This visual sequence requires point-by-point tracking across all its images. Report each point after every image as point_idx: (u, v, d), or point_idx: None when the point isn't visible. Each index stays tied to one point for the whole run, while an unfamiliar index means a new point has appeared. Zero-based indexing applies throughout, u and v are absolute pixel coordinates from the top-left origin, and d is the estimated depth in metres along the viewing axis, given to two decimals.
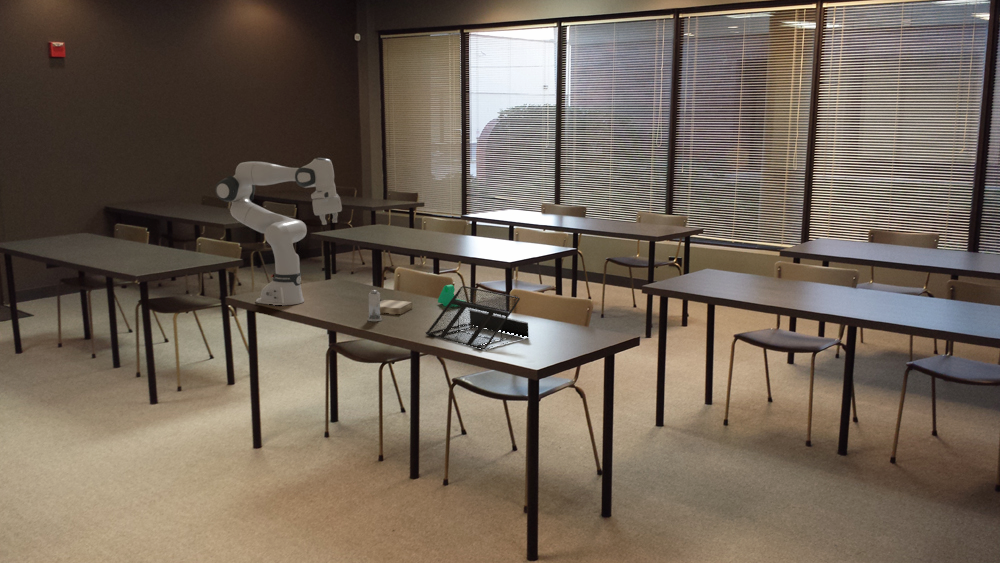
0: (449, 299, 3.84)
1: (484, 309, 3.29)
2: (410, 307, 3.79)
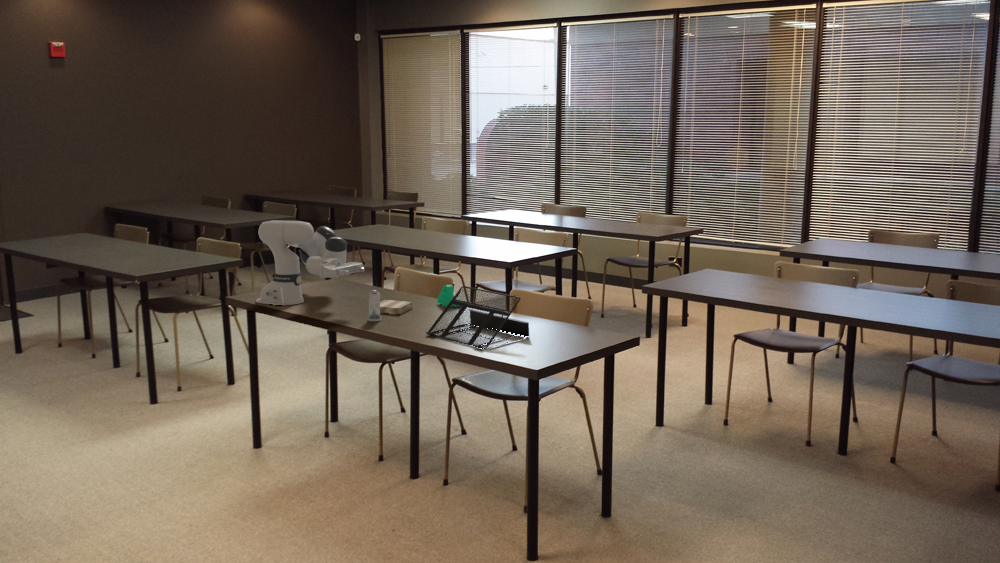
0: (448, 299, 3.84)
1: (485, 309, 3.29)
2: (410, 307, 3.79)
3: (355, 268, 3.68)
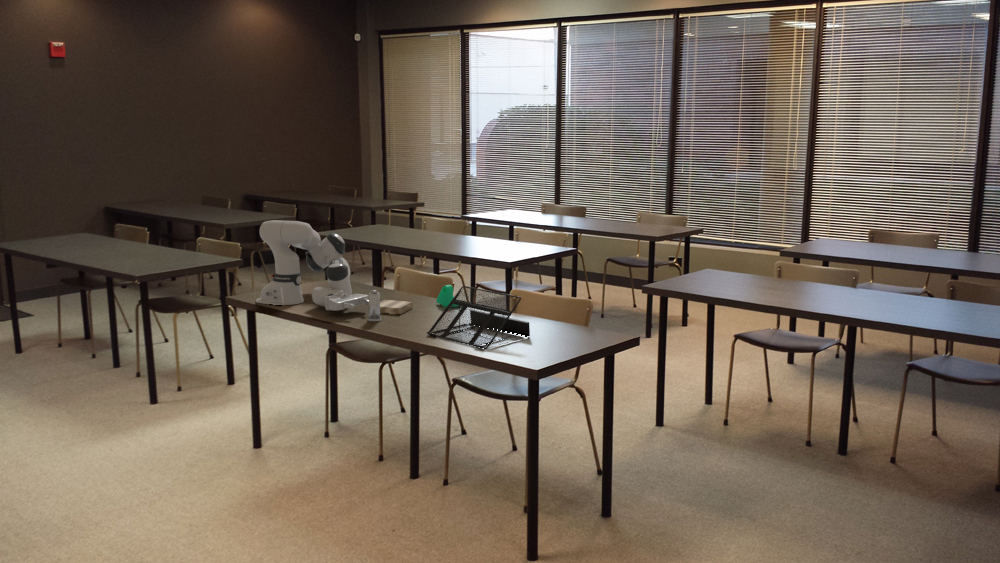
0: (448, 299, 3.84)
1: (485, 309, 3.29)
2: (410, 307, 3.79)
3: (360, 300, 3.69)
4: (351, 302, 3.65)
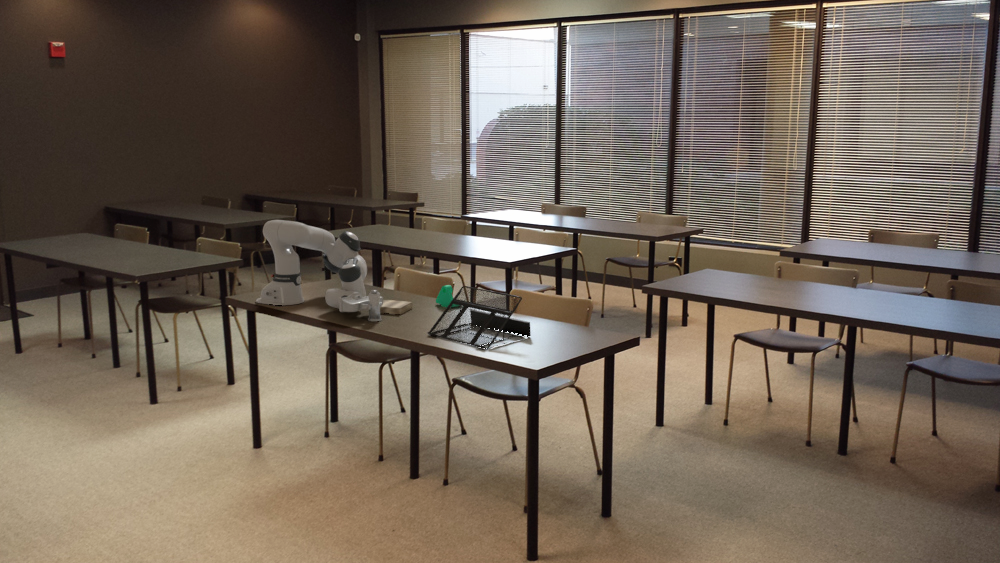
0: (447, 299, 3.83)
1: (486, 309, 3.29)
2: (410, 307, 3.79)
3: None
4: (365, 303, 3.59)
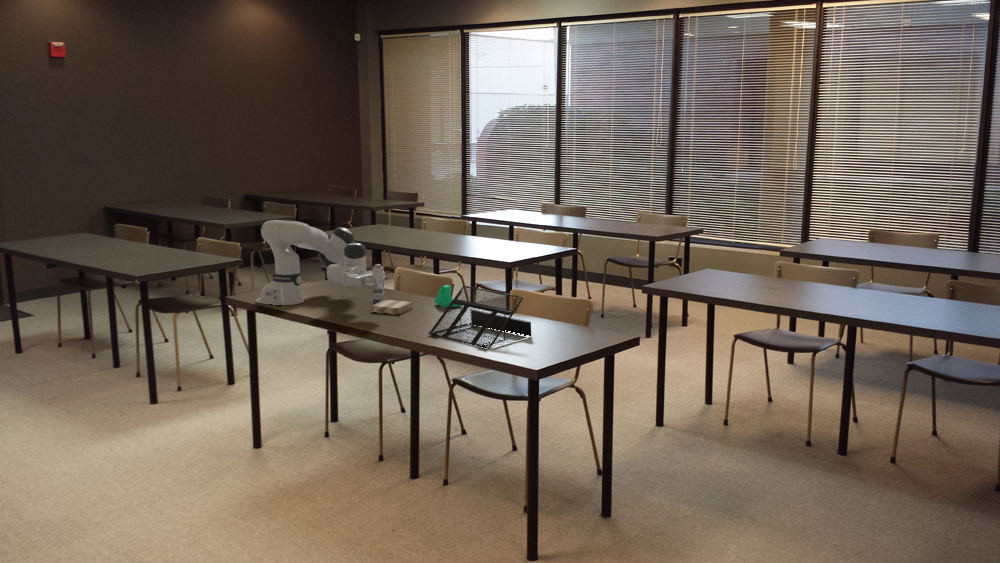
0: (446, 300, 3.83)
1: (487, 309, 3.30)
2: (410, 307, 3.79)
3: None
4: (369, 278, 3.59)
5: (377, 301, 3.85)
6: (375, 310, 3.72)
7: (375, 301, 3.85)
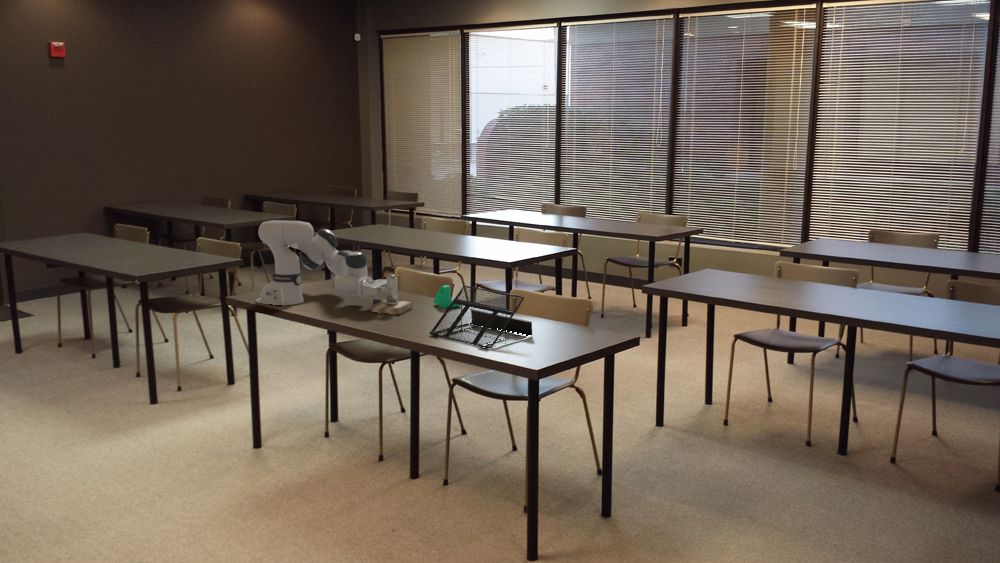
0: (445, 300, 3.83)
1: (488, 308, 3.30)
2: (410, 307, 3.79)
3: None
4: (382, 287, 3.75)
5: (377, 301, 3.85)
6: (375, 310, 3.72)
7: (375, 301, 3.85)
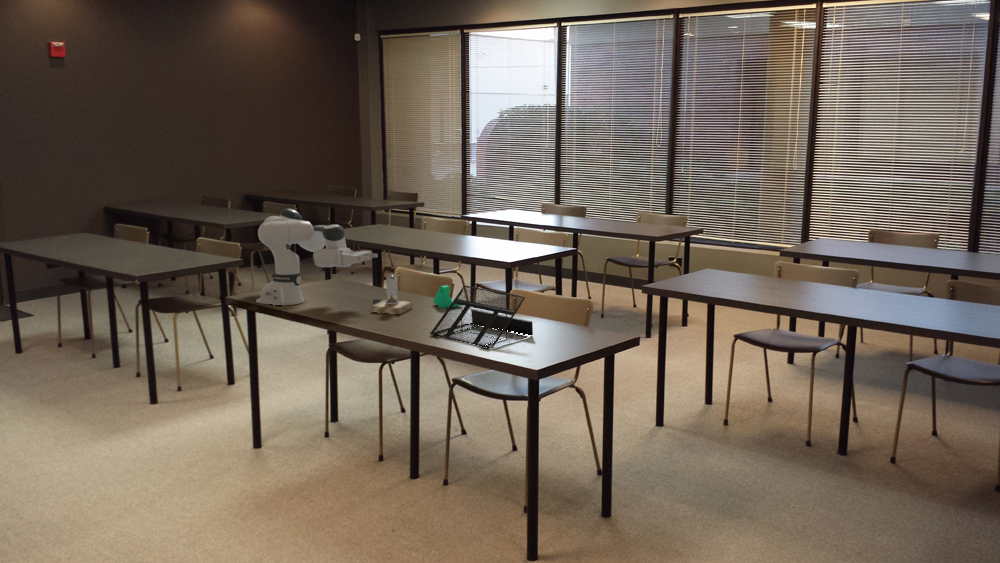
0: (444, 300, 3.82)
1: (489, 308, 3.30)
2: (410, 307, 3.79)
3: (367, 255, 3.86)
4: None
5: (377, 301, 3.85)
6: (375, 310, 3.72)
7: (375, 301, 3.85)
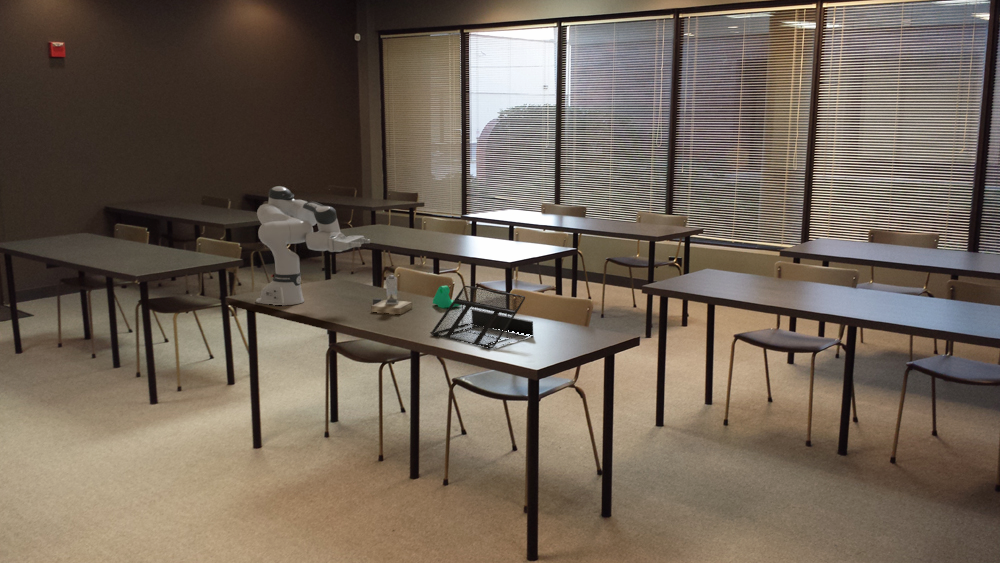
0: (444, 300, 3.82)
1: (489, 308, 3.30)
2: (410, 307, 3.79)
3: (359, 240, 3.83)
4: (353, 242, 3.78)
5: (377, 301, 3.85)
6: (375, 310, 3.72)
7: (375, 301, 3.85)
